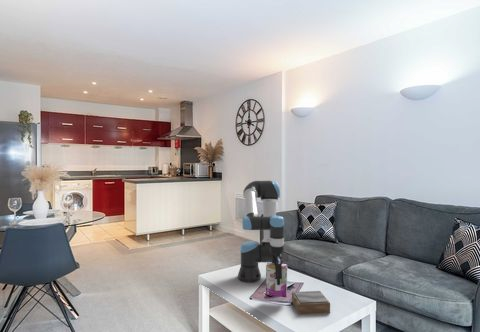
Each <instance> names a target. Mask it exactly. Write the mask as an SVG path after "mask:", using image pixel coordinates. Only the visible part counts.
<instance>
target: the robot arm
mask: <svg viewBox="0 0 480 332" xmlns="http://www.w3.org/2000/svg"><path fill="white" fill-rule="evenodd" d="M280 189H281V188H280V184H279V182H278V181H276V180H253V181H251V182H249V183H248V184H247V185H246V186H245V187H244V189H243V194H242V195H243V199H244V206H245V207H244V211H245V213H244V214H245V216H242V230H244V231H263V239H262V240H261V242H260V243H259V242H258V241H256V240H251V241H246V242H243V243H242V244H241V245H240V267H239V269H238V274H237V279H238V280H239V281H241V282H243V283H256V282H259V281H260V280H261V279H262V274H261V271H260V268H259V264H260V263H274V265H275V269H276V278H275V290H276V291H281V279H282V264H283V261H282V254H284V253H285V247H284V244H285V237H284V236H285V234H284V233H285V218H284V217H283V216H282V215H277V204H276V203H277V202H278V200H279V199H278V198H280V197H281V191H280ZM258 198H259V199H260V201H261V202H262V207H263V209H262V211H263V214H262V215H263V216H259V210H258V209H259V208H258ZM276 263H277V264H276Z"/></svg>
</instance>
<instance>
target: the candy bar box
mask: <svg viewBox="0 0 480 332" xmlns="http://www.w3.org/2000/svg"><path fill="white" fill-rule="evenodd" d="M276 264H277V263H276ZM265 269H266V270H265V295H266V296H272V297H279V298H280V297H281V298H287V295H288V264H286V263H282V279H281V291H276V290H275V278H276V269H275V265H274V263H272V262H266V267H265Z"/></svg>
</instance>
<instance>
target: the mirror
mask: <svg viewBox="0 0 480 332" xmlns="http://www.w3.org/2000/svg"><path fill="white" fill-rule="evenodd" d="M291 302H292V304H293V306H294V308H295V309H296V312H297V313H298V314H299V315H314V314H330V313H331V302H330V301H329V300H328V298H327V297H326V296H325V295H324V294H323V293H322V292H321V290H309V291H293V292H291Z"/></svg>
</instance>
